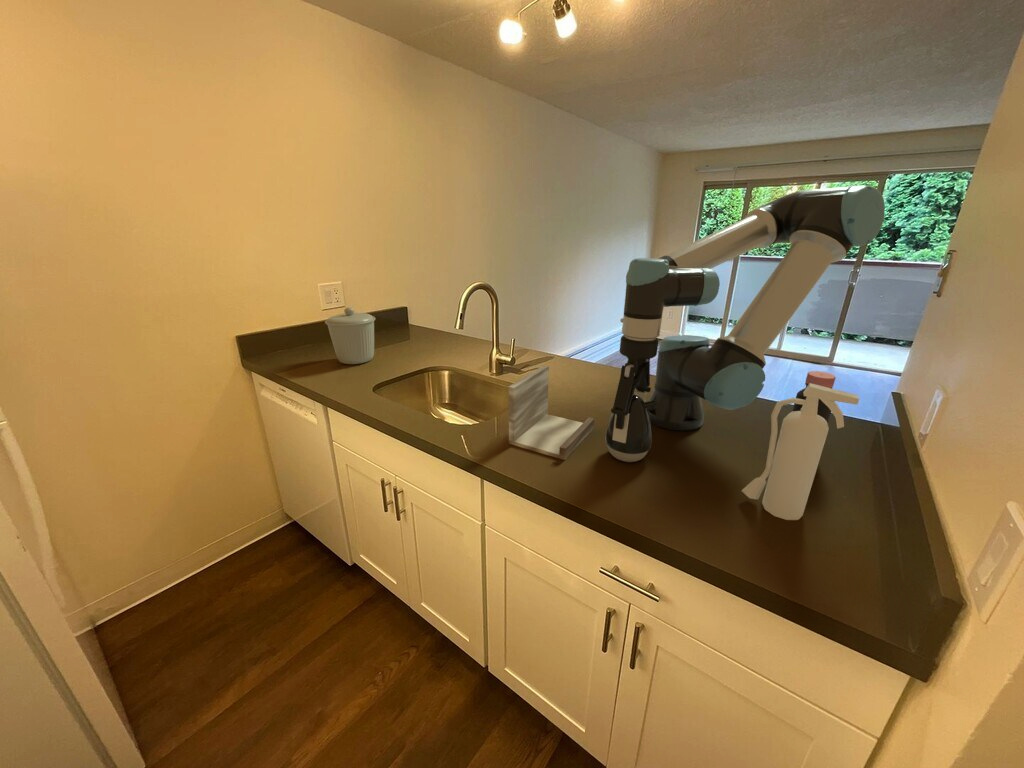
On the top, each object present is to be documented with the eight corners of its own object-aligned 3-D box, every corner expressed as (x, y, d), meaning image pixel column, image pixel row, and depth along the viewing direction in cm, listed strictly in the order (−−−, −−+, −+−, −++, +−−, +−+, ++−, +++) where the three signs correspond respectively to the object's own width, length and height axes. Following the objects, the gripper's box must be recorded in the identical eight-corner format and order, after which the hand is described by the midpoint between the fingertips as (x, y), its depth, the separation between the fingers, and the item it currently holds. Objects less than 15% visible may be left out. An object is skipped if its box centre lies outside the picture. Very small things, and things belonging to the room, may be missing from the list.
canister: (390, 358, 167) (384, 305, 159) (352, 371, 153) (343, 314, 145) (360, 351, 176) (353, 301, 168) (322, 363, 162) (312, 308, 154)
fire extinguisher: (741, 486, 85) (773, 372, 75) (812, 508, 79) (858, 387, 69) (737, 505, 79) (771, 384, 69) (813, 530, 73) (862, 402, 63)
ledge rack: (593, 428, 109) (597, 375, 104) (565, 460, 95) (568, 399, 89) (542, 416, 116) (543, 365, 111) (508, 443, 102) (508, 386, 96)
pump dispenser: (652, 470, 91) (661, 406, 85) (603, 465, 93) (609, 402, 87) (648, 447, 100) (655, 388, 94) (603, 443, 102) (608, 385, 96)
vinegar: (775, 448, 99) (795, 369, 92) (804, 449, 99) (827, 369, 92) (792, 464, 93) (815, 380, 86) (823, 464, 93) (849, 380, 85)
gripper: (638, 323, 98) (628, 405, 105) (601, 347, 78) (592, 447, 85) (671, 327, 94) (658, 412, 102) (642, 353, 74) (628, 457, 82)
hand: (628, 428), depth 94 cm, fingers open, 13 cm apart
